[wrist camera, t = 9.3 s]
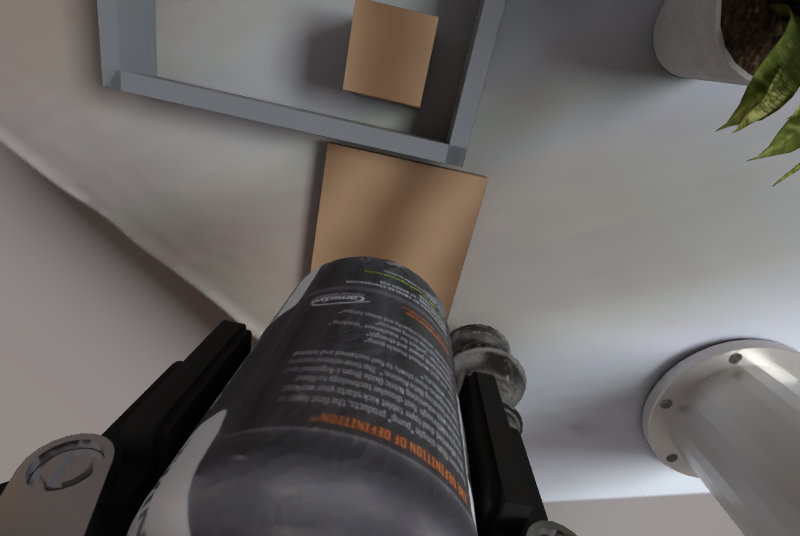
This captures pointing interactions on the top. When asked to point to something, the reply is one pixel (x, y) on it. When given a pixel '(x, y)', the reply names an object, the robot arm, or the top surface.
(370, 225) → the pad
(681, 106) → the top surface
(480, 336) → the stone chess piece
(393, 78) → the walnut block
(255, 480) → the pill bottle
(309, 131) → the bin
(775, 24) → the house plant
